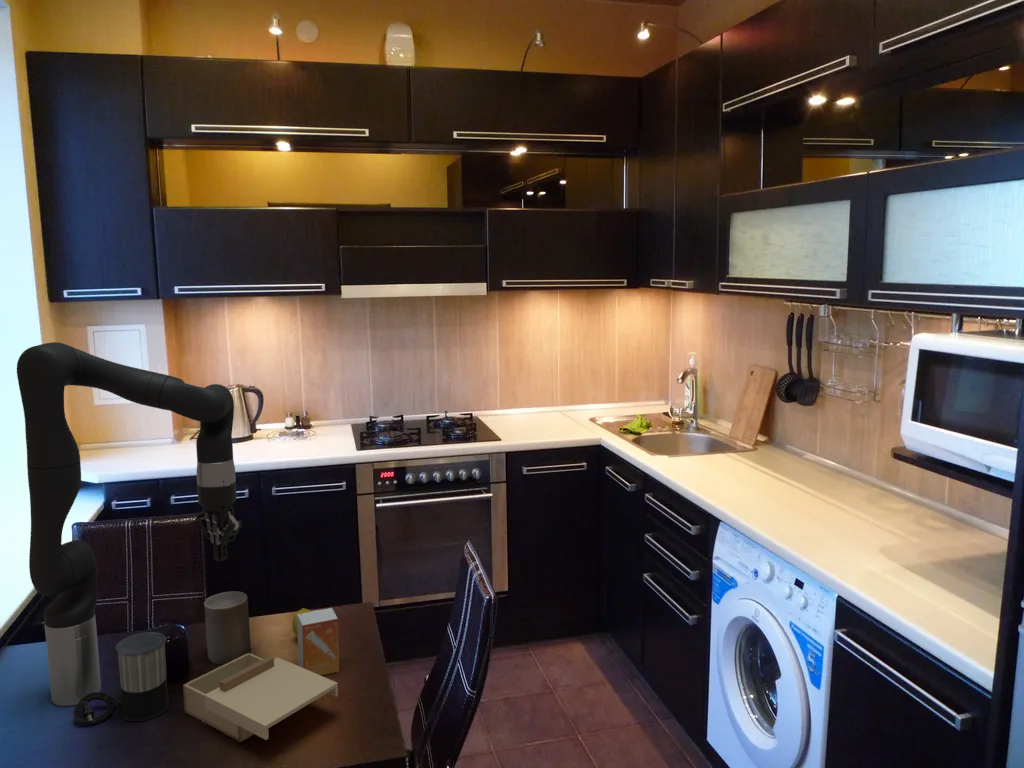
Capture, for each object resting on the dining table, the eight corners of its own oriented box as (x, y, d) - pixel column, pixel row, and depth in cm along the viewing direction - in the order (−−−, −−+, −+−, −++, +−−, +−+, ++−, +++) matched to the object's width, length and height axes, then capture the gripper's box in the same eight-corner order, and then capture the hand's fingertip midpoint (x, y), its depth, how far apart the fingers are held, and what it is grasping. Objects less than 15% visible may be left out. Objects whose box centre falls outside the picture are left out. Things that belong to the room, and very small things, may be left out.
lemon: (310, 631, 190) (309, 601, 189) (319, 640, 186) (318, 609, 185) (289, 638, 186) (287, 607, 185) (298, 647, 182) (297, 615, 181)
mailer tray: (184, 712, 155) (182, 685, 154) (250, 677, 168) (248, 652, 167) (240, 742, 145) (238, 713, 144) (305, 703, 158) (304, 676, 158)
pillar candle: (258, 645, 183) (255, 586, 181) (238, 666, 173) (234, 604, 171) (221, 643, 184) (217, 584, 182) (198, 663, 175) (194, 601, 172)
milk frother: (179, 706, 157) (175, 639, 155) (102, 744, 144) (96, 672, 142) (142, 685, 165) (138, 621, 163) (66, 719, 153) (60, 650, 150)
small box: (303, 680, 167) (301, 625, 165) (298, 667, 173) (296, 613, 171) (340, 672, 171) (338, 617, 169) (333, 659, 176) (331, 606, 175)
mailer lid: (205, 708, 149) (203, 686, 148) (278, 669, 164) (277, 649, 163) (265, 740, 139) (264, 716, 138) (338, 695, 154) (337, 674, 153)
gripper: (181, 479, 158) (186, 558, 161) (220, 489, 151) (224, 572, 154) (212, 472, 165) (217, 548, 167) (251, 481, 157) (255, 560, 160)
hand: (220, 559), depth 160 cm, fingers closed
